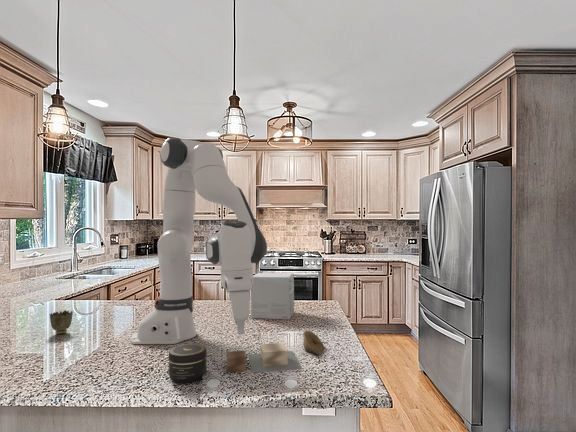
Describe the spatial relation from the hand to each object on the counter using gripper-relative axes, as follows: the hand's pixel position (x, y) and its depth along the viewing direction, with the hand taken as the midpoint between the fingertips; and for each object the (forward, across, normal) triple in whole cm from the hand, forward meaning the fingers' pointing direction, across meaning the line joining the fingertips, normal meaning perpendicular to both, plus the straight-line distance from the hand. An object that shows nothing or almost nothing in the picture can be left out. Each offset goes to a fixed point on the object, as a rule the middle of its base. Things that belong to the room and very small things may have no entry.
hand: (239, 328), depth 104 cm
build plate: (+12, -3, +10) cm, 16 cm away
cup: (+9, -50, -64) cm, 81 cm away
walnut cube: (+12, 0, -2) cm, 12 cm away
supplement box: (+13, -59, +18) cm, 63 cm away
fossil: (+13, -9, +23) cm, 28 cm away
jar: (+12, +1, -14) cm, 19 cm away
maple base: (+11, -3, +10) cm, 15 cm away
